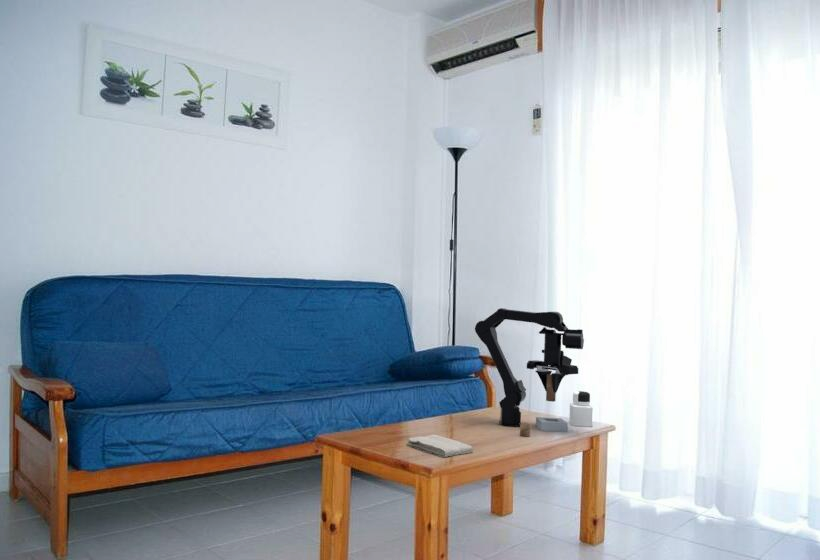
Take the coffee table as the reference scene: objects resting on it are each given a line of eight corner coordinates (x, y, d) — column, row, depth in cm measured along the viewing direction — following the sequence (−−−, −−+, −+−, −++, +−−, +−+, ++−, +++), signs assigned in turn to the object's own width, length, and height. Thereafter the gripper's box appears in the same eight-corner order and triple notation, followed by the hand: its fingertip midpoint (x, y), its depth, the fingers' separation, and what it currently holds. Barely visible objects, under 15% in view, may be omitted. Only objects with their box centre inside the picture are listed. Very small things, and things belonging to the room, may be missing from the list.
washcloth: (433, 441, 201) (433, 431, 201) (474, 454, 187) (475, 443, 187) (403, 446, 193) (404, 436, 193) (445, 459, 180) (445, 448, 180)
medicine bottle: (588, 423, 240) (589, 390, 240) (592, 427, 233) (593, 393, 233) (569, 422, 240) (570, 389, 241) (572, 425, 233) (573, 392, 234)
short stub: (520, 436, 211) (521, 424, 211) (519, 434, 215) (519, 422, 215) (530, 437, 211) (531, 424, 212) (528, 434, 215) (529, 422, 215)
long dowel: (546, 401, 224) (547, 375, 224) (545, 399, 227) (546, 374, 227) (556, 401, 224) (557, 375, 224) (554, 400, 227) (555, 374, 227)
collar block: (541, 430, 222) (541, 422, 222) (535, 425, 231) (536, 417, 231) (567, 431, 222) (567, 423, 222) (560, 426, 231) (561, 418, 231)
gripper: (589, 349, 224) (587, 394, 223) (546, 344, 238) (545, 387, 238) (568, 350, 217) (567, 396, 216) (526, 345, 231) (524, 388, 231)
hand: (551, 392), depth 225 cm, fingers closed on long dowel, 3 cm apart
